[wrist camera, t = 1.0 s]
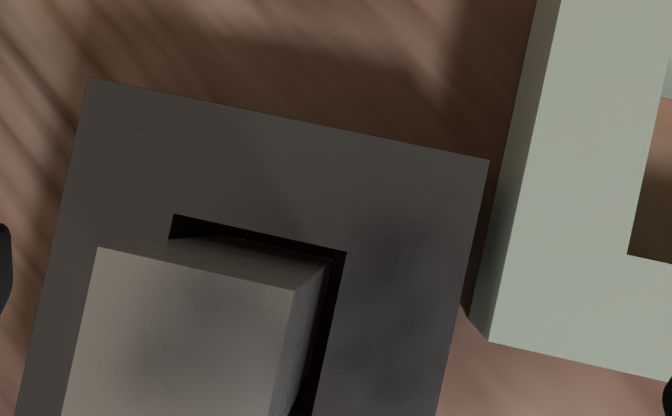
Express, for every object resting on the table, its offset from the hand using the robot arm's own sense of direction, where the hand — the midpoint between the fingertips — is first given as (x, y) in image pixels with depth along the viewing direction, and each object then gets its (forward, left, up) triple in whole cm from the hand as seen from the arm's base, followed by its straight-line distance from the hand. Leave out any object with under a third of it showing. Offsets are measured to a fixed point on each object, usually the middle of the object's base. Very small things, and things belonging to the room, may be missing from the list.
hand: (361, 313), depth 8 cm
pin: (-2, +3, -14) cm, 15 cm away
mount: (-2, +3, -14) cm, 14 cm away
